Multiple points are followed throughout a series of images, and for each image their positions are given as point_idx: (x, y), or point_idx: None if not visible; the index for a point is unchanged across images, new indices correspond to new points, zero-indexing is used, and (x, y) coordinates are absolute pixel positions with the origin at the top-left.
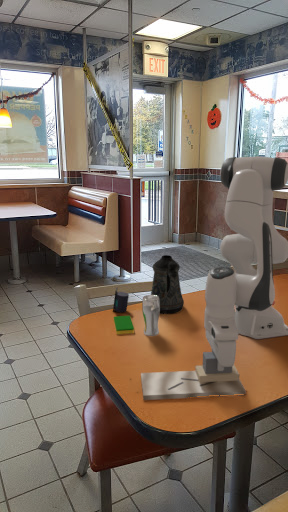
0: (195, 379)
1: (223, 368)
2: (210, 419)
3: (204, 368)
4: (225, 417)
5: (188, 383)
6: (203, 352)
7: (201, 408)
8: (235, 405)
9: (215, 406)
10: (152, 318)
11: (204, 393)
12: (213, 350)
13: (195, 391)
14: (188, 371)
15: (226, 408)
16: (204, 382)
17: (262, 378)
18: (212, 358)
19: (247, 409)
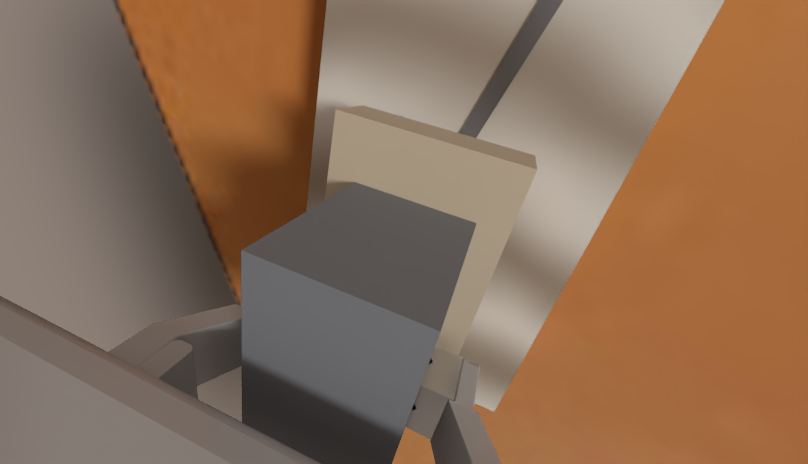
0: (483, 122)
1: None
2: (164, 44)
3: (389, 207)
4: (178, 129)
5: (456, 33)
6: (430, 332)
7: (242, 34)
8: (250, 223)
9: (251, 126)
10: None
11: (319, 108)
12: (180, 446)
13: (338, 46)
14: (643, 123)
15: (234, 171)
16: None
17: (402, 441)
18: (242, 325)
19: (223, 250)
